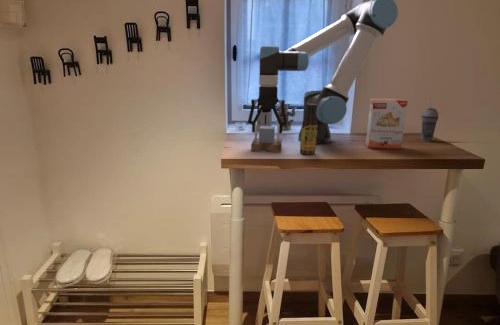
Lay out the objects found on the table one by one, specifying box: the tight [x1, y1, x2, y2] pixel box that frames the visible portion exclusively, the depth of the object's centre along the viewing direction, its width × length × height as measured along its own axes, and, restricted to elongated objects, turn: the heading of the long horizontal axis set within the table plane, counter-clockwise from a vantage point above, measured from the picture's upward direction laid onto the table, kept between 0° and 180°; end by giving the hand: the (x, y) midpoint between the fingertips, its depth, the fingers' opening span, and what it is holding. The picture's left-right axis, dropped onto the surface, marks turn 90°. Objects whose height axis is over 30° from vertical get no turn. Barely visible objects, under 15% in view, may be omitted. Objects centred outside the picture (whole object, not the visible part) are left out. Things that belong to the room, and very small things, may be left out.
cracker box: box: [365, 98, 408, 150], centre depth 157 cm, size 14×6×21 cm, turn 86°
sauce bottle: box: [299, 104, 318, 156], centre depth 146 cm, size 6×6×20 cm
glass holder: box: [256, 102, 273, 132], centre depth 192 cm, size 9×14×15 cm, turn 162°
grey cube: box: [258, 125, 276, 143], centre depth 154 cm, size 6×6×6 cm
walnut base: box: [250, 137, 283, 153], centre depth 156 cm, size 12×12×3 cm
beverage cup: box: [420, 97, 439, 143], centre depth 172 cm, size 7×7×20 cm
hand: (266, 140), depth 155 cm, fingers open, 9 cm apart
